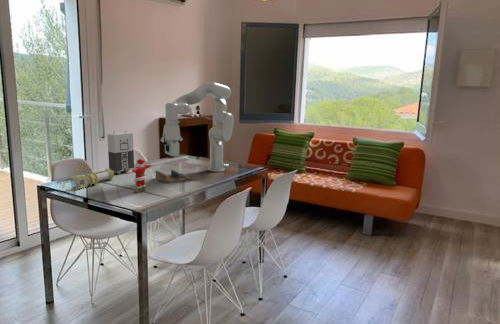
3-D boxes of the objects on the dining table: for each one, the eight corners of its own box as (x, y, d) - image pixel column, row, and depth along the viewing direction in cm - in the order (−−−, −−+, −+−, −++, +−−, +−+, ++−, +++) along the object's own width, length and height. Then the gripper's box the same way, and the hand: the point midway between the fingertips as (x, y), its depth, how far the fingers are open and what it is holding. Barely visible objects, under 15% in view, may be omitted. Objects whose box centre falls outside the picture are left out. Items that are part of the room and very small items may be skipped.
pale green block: (172, 152, 246) (172, 140, 244) (179, 155, 236) (179, 143, 234) (164, 153, 243) (164, 141, 241) (171, 156, 233) (171, 143, 232)
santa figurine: (149, 185, 225) (148, 155, 222) (157, 186, 223) (157, 156, 220) (122, 196, 202) (120, 162, 199) (131, 197, 200) (129, 163, 197)
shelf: (181, 175, 254) (181, 168, 253) (191, 180, 241) (191, 172, 240) (155, 178, 245) (155, 170, 244) (164, 183, 231) (164, 175, 231)
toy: (116, 175, 250) (114, 130, 244) (109, 173, 254) (107, 129, 248) (134, 171, 262) (132, 129, 256) (127, 170, 266) (125, 128, 260)
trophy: (104, 167, 239) (68, 176, 211) (114, 168, 236) (78, 177, 208) (105, 179, 240) (68, 190, 212) (115, 180, 238) (79, 191, 210)
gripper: (181, 121, 243) (182, 149, 247) (156, 122, 234) (157, 151, 237) (186, 122, 237) (186, 151, 240) (160, 123, 228) (161, 152, 231)
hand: (171, 150), depth 239 cm, fingers closed on pale green block, 5 cm apart
